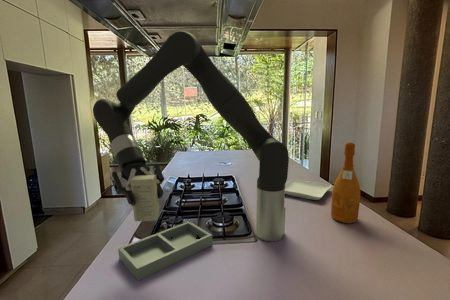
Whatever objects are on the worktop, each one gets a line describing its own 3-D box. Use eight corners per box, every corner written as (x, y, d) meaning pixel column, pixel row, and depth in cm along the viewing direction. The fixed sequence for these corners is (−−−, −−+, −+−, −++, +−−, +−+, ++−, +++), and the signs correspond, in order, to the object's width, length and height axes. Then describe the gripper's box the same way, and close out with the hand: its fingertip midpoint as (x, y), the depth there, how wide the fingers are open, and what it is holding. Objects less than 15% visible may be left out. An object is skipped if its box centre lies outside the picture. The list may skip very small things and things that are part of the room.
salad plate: (292, 183, 145) (292, 177, 145) (332, 191, 133) (332, 184, 133) (276, 195, 128) (276, 188, 128) (320, 204, 116) (321, 197, 116)
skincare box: (159, 214, 77) (157, 174, 74) (156, 221, 72) (154, 179, 70) (137, 214, 76) (134, 174, 74) (133, 221, 72) (129, 179, 70)
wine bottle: (324, 215, 105) (330, 141, 99) (343, 211, 108) (349, 140, 103) (344, 226, 96) (351, 145, 90) (363, 221, 99) (371, 143, 94)
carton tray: (189, 230, 94) (189, 221, 93) (212, 244, 84) (212, 234, 84) (119, 258, 77) (118, 248, 77) (138, 280, 68) (137, 268, 67)
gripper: (105, 148, 71) (125, 201, 65) (153, 142, 81) (175, 188, 75) (100, 164, 76) (119, 214, 70) (146, 156, 86) (166, 200, 79)
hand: (148, 200), depth 72 cm, fingers closed on skincare box, 7 cm apart
